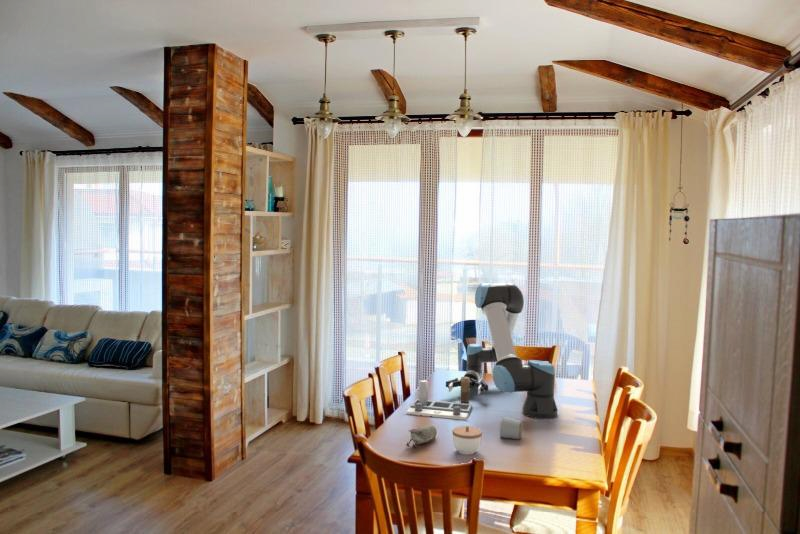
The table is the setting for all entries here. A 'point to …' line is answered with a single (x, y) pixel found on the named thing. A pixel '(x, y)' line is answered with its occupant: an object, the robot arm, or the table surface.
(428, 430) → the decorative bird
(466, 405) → the pin board
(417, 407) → the plaque
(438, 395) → the table surface
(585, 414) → the table surface
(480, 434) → the lidded jar
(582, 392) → the table surface
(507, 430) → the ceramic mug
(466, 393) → the walnut pin
